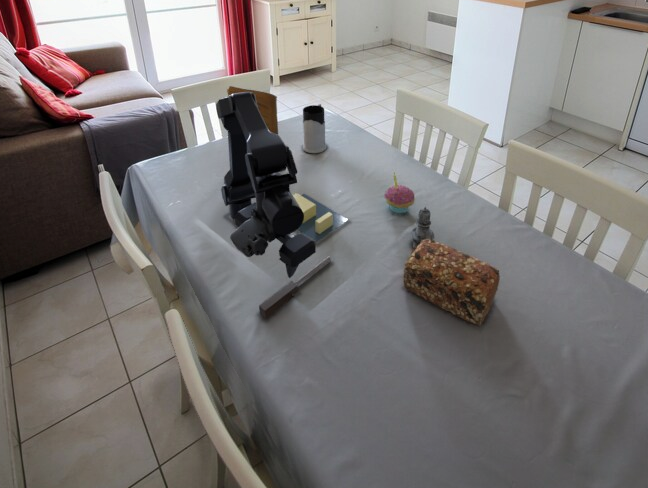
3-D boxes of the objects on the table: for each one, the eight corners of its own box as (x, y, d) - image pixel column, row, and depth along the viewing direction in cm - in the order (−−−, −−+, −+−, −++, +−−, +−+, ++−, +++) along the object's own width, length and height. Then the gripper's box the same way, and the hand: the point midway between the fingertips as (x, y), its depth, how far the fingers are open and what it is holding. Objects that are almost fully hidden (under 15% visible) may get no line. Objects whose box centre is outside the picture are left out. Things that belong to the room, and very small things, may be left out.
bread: (497, 298, 95) (503, 263, 91) (479, 333, 87) (485, 296, 83) (422, 261, 105) (425, 228, 101) (400, 289, 97) (402, 254, 93)
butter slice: (315, 231, 113) (315, 220, 111) (328, 222, 116) (328, 211, 115) (319, 234, 112) (319, 223, 110) (332, 224, 115) (332, 214, 114)
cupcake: (380, 214, 121) (381, 178, 117) (389, 197, 129) (391, 163, 124) (409, 222, 118) (412, 185, 114) (417, 204, 126) (420, 169, 121)
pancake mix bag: (274, 178, 137) (268, 97, 126) (232, 161, 146) (224, 84, 136) (288, 168, 142) (284, 90, 132) (247, 152, 152) (240, 78, 141)
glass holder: (299, 151, 153) (297, 113, 147) (310, 133, 166) (309, 97, 160) (323, 154, 151) (322, 115, 146) (332, 135, 164) (332, 99, 159)
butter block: (283, 211, 120) (282, 200, 119) (297, 203, 124) (296, 192, 123) (302, 223, 116) (302, 213, 114) (316, 214, 119) (316, 204, 118)
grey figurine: (432, 255, 107) (436, 216, 102) (409, 251, 108) (412, 212, 103) (433, 239, 112) (437, 201, 108) (411, 236, 113) (414, 198, 109)
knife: (259, 314, 90) (258, 305, 89) (326, 261, 104) (326, 253, 103) (265, 319, 89) (264, 310, 88) (332, 266, 103) (332, 257, 102)
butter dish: (272, 215, 120) (272, 212, 120) (304, 196, 129) (303, 193, 128) (316, 245, 109) (316, 242, 109) (348, 222, 118) (348, 219, 117)
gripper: (207, 201, 82) (216, 264, 88) (268, 247, 71) (273, 315, 77) (255, 177, 90) (260, 236, 96) (316, 215, 79) (318, 279, 85)
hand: (276, 264), depth 88 cm, fingers open, 9 cm apart
